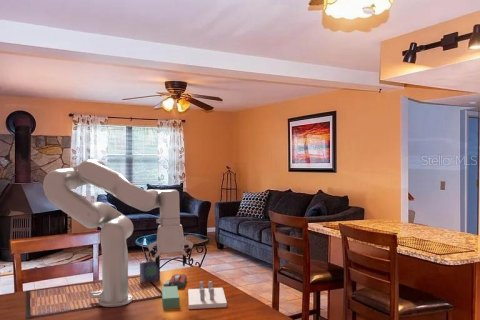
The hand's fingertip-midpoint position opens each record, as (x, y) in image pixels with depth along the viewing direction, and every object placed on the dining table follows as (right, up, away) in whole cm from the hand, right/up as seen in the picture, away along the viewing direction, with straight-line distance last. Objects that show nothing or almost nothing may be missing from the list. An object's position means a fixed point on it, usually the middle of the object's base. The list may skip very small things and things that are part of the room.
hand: (171, 266), depth 159 cm
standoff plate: (+13, -14, +2) cm, 19 cm away
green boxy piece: (0, -14, 0) cm, 14 cm away
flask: (-14, -14, +27) cm, 33 cm away
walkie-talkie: (-2, -14, +18) cm, 23 cm away
